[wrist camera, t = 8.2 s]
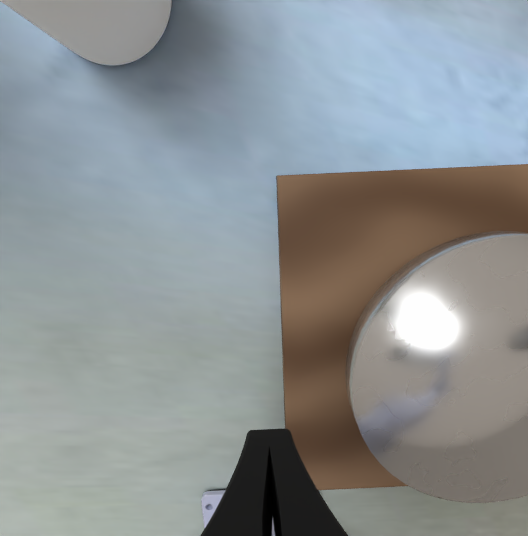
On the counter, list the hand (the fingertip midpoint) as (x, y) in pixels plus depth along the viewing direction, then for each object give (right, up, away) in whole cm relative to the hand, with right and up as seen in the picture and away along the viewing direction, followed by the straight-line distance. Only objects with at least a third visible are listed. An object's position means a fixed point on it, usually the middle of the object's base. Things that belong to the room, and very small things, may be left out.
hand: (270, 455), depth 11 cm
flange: (+12, +2, +6) cm, 14 cm away
